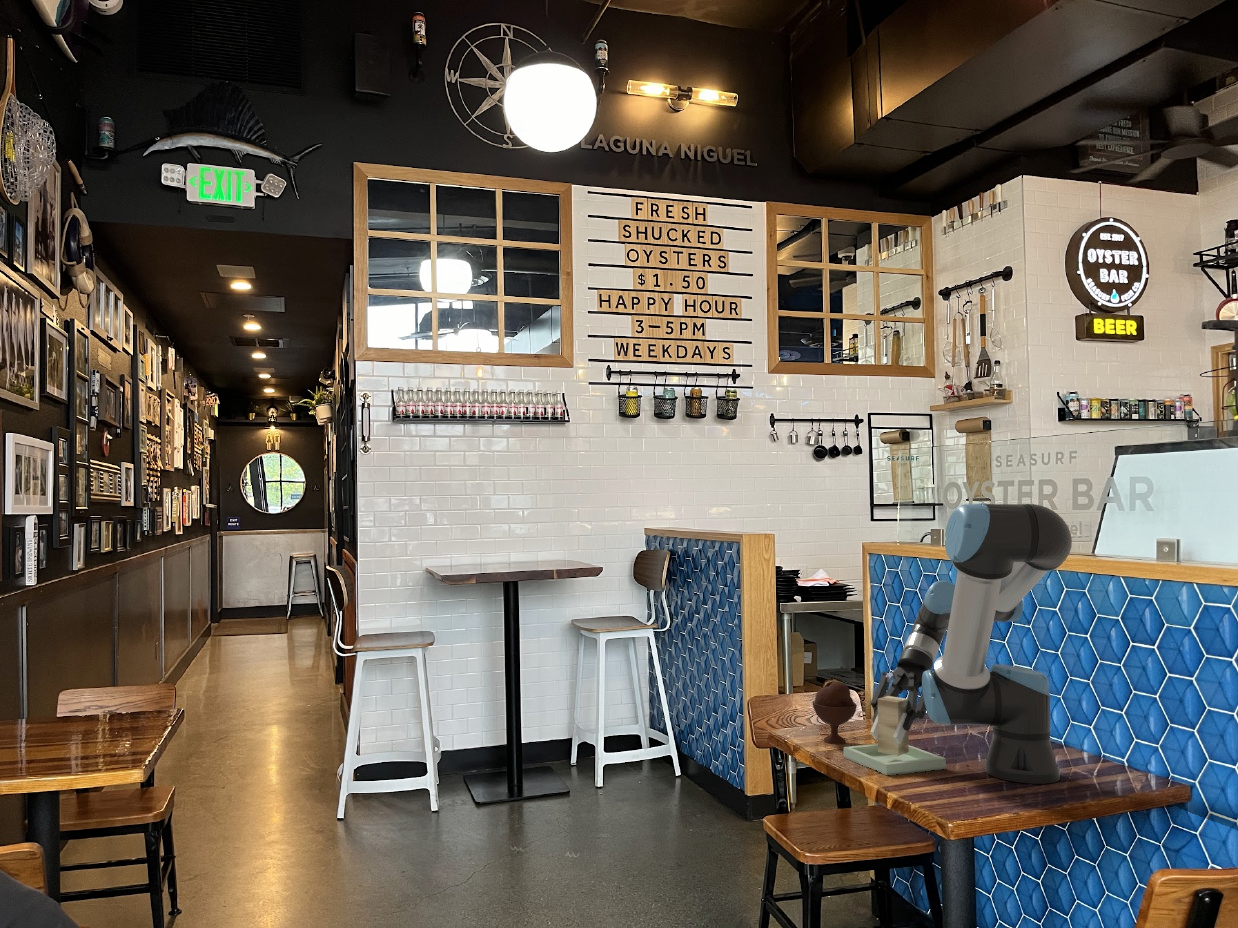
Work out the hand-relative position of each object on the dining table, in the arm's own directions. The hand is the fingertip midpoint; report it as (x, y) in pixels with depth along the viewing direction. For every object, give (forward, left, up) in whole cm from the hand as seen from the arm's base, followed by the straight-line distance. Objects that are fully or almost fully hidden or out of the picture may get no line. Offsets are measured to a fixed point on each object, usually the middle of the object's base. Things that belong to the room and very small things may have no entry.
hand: (885, 737), depth 207 cm
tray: (+1, -3, -6) cm, 7 cm away
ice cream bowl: (+23, -2, -6) cm, 24 cm away
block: (+2, -3, -4) cm, 5 cm away
